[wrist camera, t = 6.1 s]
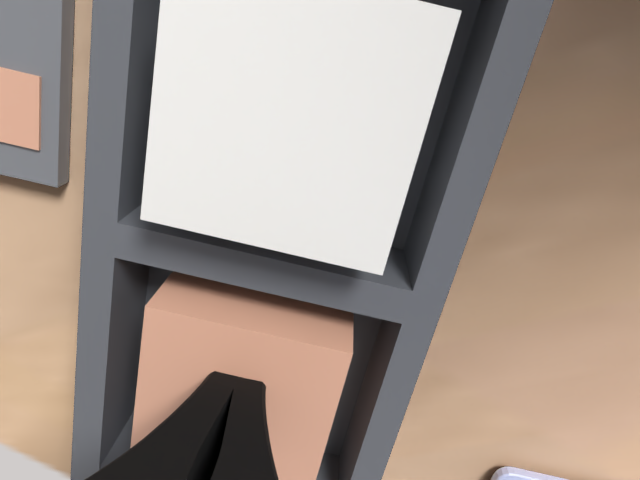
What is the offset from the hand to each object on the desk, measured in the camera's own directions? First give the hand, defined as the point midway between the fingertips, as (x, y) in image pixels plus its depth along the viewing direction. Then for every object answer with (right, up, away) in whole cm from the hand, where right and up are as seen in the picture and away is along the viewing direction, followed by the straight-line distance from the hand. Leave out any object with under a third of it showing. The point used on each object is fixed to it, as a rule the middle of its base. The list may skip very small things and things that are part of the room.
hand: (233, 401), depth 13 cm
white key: (+2, +7, -1) cm, 8 cm away
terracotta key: (0, +1, +2) cm, 3 cm away
